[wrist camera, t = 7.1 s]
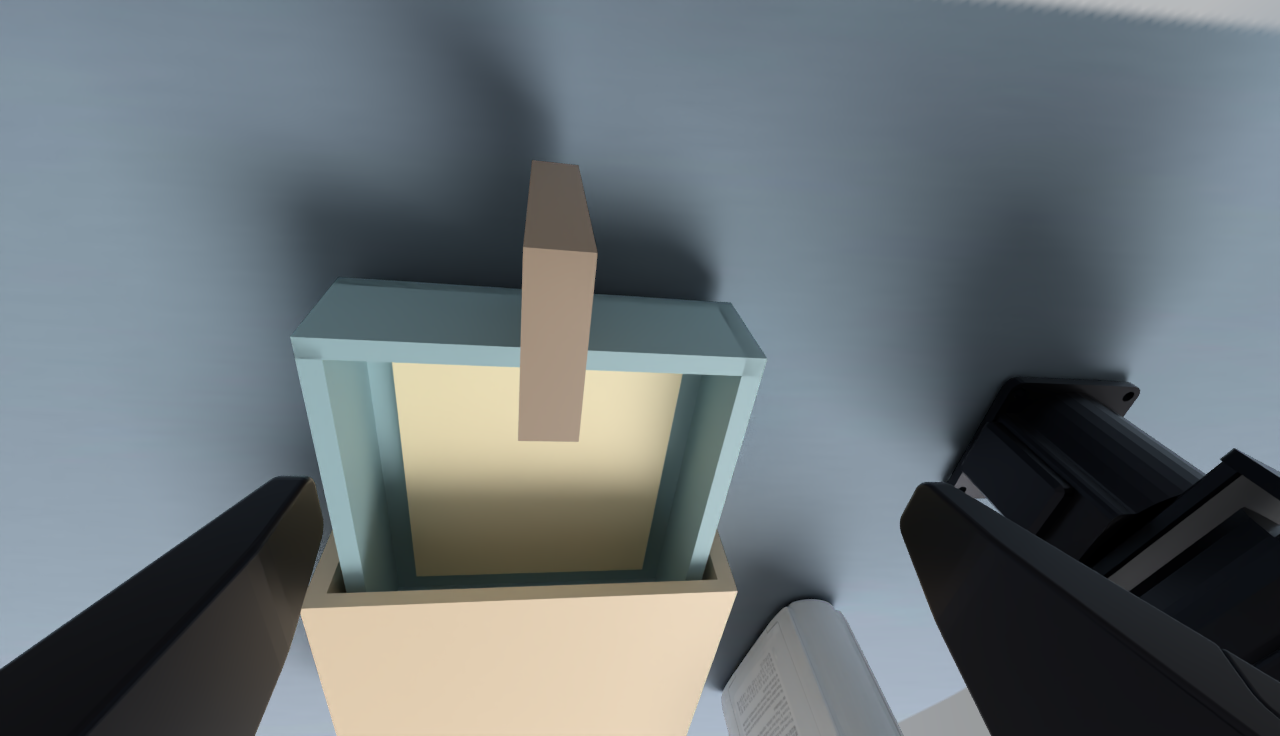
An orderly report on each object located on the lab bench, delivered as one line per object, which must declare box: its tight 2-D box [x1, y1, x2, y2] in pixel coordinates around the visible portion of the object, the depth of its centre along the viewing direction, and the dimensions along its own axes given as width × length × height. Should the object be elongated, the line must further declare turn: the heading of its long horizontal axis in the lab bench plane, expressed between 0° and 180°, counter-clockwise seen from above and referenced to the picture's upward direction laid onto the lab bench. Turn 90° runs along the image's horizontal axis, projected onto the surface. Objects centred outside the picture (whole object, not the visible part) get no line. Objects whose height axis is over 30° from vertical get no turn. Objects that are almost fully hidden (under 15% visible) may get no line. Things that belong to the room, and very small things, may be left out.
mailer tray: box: [290, 160, 767, 593], centre depth 17 cm, size 12×18×7 cm, turn 172°
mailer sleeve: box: [300, 529, 738, 736], centre depth 24 cm, size 14×15×5 cm
